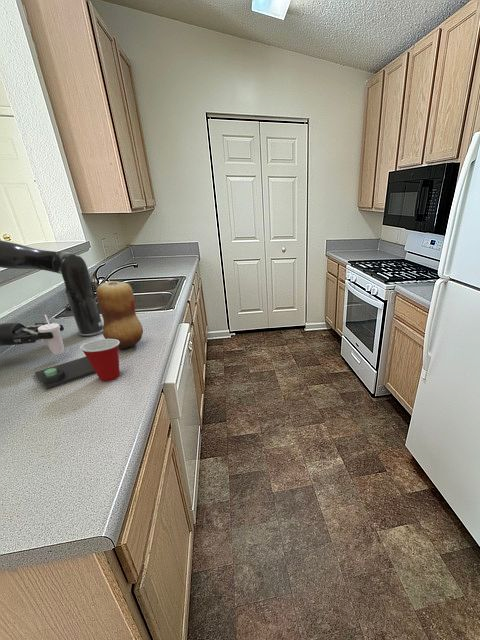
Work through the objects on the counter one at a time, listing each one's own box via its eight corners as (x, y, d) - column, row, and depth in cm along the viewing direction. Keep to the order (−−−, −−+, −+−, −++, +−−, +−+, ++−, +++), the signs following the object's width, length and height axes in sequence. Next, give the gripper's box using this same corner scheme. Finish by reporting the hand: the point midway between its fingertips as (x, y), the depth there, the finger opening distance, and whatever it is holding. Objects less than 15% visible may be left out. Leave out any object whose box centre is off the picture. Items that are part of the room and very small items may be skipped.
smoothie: (58, 356, 115) (43, 318, 109) (43, 354, 116) (27, 317, 110) (73, 348, 121) (59, 311, 114) (58, 347, 122) (44, 310, 115)
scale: (35, 375, 110) (32, 367, 108) (88, 358, 120) (86, 351, 119) (47, 390, 101) (43, 381, 100) (103, 370, 112) (100, 363, 110)
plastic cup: (136, 371, 111) (126, 338, 105) (110, 387, 102) (98, 352, 96) (111, 367, 114) (100, 334, 109) (83, 382, 105) (70, 348, 99)
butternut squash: (142, 351, 124) (125, 285, 113) (104, 356, 122) (82, 289, 111) (149, 337, 136) (134, 277, 125) (114, 341, 134) (95, 279, 123)
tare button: (44, 375, 104) (43, 370, 104) (56, 371, 106) (54, 367, 106) (47, 378, 102) (45, 373, 102) (59, 374, 104) (57, 370, 104)
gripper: (-14, 332, 105) (42, 328, 107) (14, 316, 118) (64, 314, 120) (-4, 353, 109) (50, 349, 111) (23, 336, 122) (71, 333, 123)
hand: (57, 331), depth 115 cm, fingers closed on smoothie, 6 cm apart
